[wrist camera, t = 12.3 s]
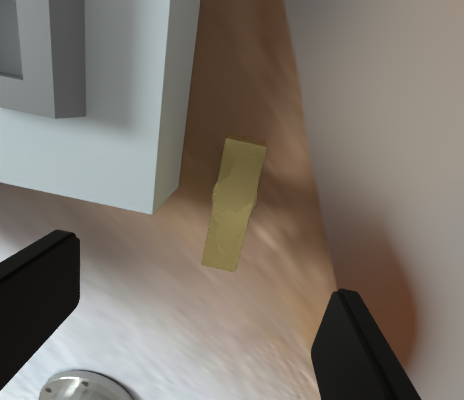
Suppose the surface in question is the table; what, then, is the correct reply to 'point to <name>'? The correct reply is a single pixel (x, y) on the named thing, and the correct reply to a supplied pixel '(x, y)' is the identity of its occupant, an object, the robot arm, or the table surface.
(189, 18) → the box
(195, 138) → the table surface
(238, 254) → the t key
